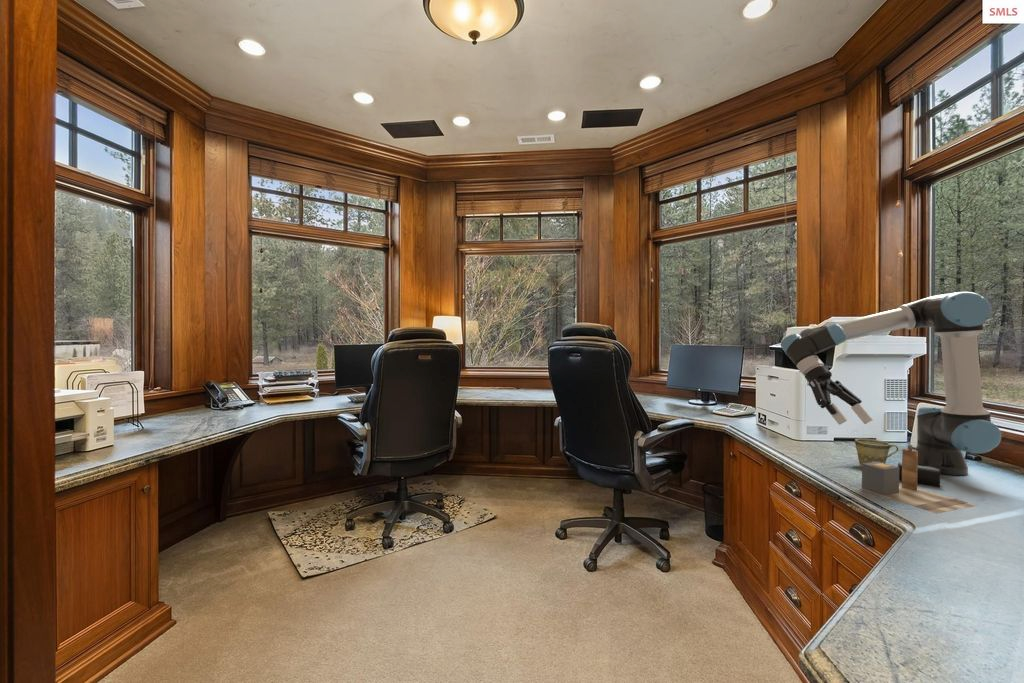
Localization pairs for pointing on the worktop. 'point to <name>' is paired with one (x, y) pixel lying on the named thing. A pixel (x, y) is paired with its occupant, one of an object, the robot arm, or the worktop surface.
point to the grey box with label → (880, 478)
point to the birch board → (927, 500)
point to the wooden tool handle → (909, 468)
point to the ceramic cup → (872, 450)
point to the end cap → (925, 475)
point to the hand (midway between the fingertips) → (856, 422)
